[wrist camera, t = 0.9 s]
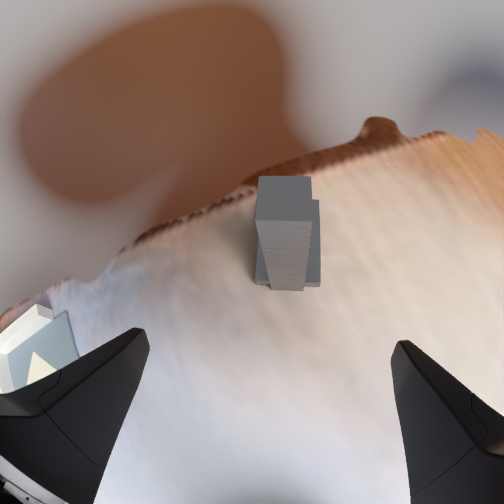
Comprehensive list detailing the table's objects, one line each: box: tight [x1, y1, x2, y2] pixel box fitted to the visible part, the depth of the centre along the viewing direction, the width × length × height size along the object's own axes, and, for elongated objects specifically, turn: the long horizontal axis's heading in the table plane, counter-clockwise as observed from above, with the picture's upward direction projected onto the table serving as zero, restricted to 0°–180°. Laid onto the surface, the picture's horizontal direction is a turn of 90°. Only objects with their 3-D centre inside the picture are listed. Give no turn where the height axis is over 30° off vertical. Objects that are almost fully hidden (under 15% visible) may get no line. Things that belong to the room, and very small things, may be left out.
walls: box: [0, 303, 54, 394], centre depth 21 cm, size 16×14×3 cm
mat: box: [7, 312, 79, 390], centre depth 22 cm, size 14×15×1 cm
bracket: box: [255, 176, 320, 291], centre depth 20 cm, size 9×6×12 cm, turn 175°
